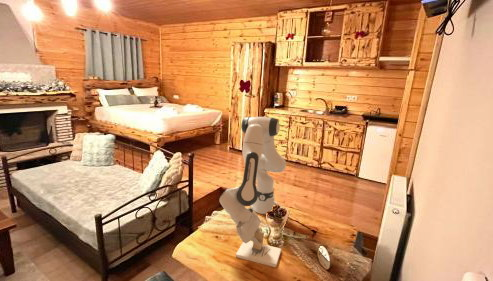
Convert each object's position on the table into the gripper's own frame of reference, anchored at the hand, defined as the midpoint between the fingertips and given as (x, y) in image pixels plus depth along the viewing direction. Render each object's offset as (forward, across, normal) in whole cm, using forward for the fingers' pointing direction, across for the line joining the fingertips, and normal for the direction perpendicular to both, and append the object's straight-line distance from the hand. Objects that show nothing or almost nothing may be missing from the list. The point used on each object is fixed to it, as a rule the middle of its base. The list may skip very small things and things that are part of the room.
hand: (259, 239), depth 128 cm
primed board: (+5, -1, +5) cm, 7 cm away
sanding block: (+3, -1, +4) cm, 5 cm away
